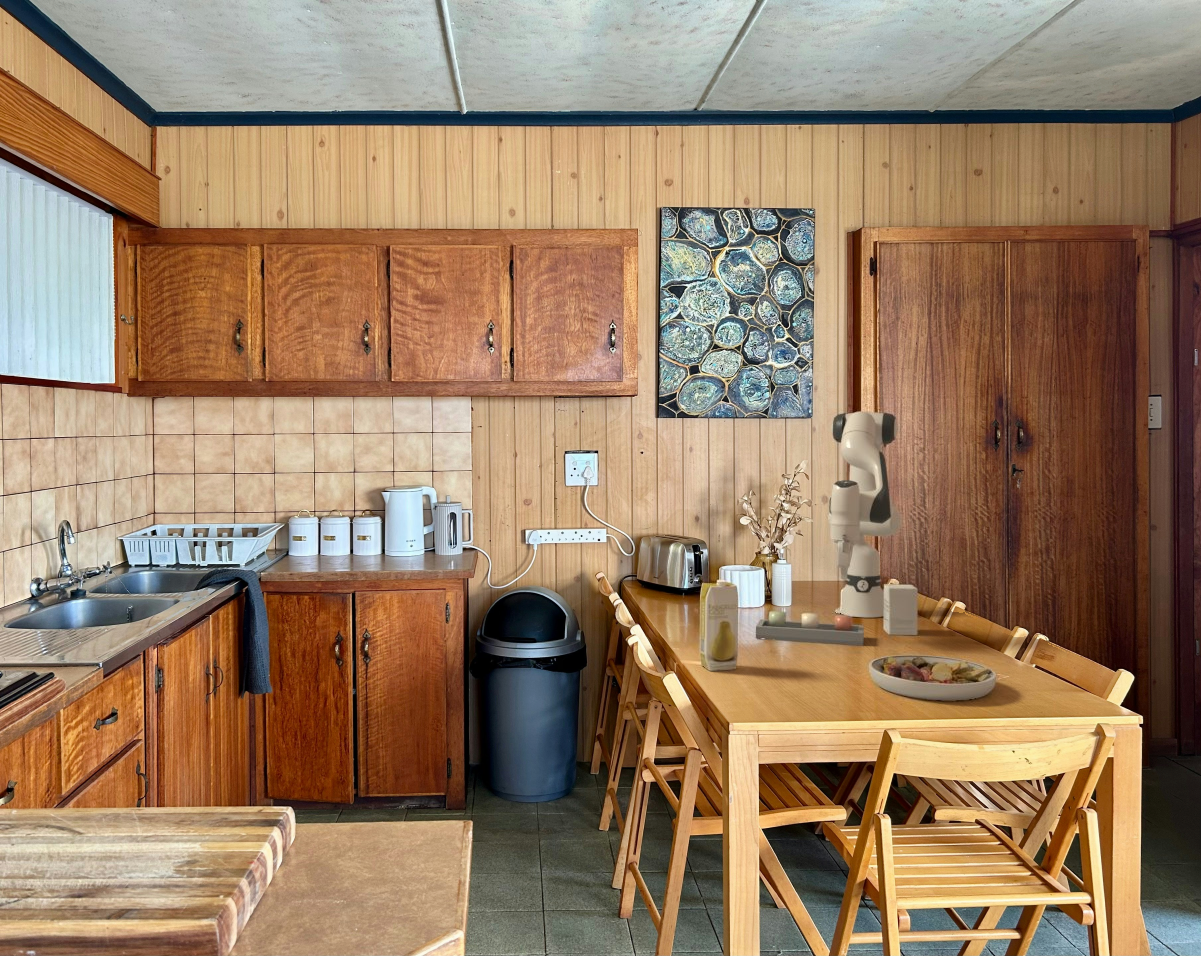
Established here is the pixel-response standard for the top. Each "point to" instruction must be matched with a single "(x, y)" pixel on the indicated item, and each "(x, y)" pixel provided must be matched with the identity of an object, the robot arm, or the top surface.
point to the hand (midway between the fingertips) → (844, 578)
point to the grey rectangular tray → (811, 633)
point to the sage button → (777, 619)
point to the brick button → (843, 622)
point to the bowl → (932, 677)
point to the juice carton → (719, 626)
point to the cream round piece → (810, 621)
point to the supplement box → (900, 609)
